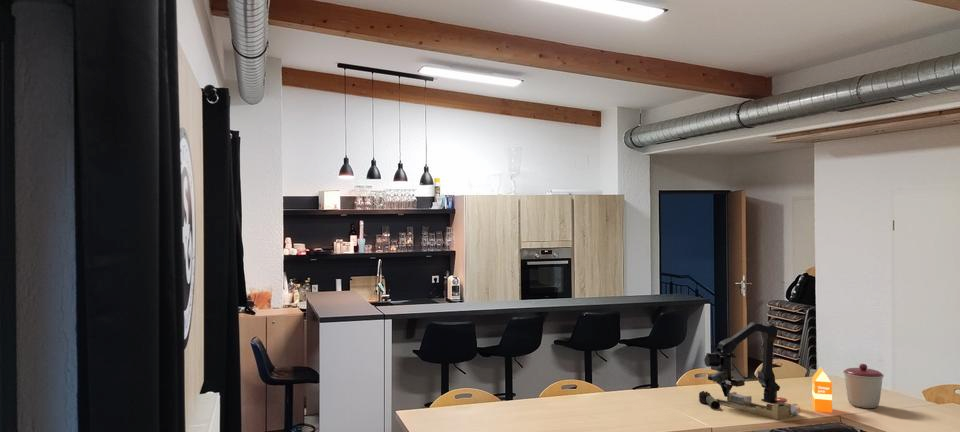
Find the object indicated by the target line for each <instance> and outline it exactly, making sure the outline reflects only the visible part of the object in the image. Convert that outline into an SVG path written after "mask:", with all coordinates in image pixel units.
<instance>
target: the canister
mask: <svg viewBox="0 0 960 432" xmlns="http://www.w3.org/2000/svg"><path fill="white" fill-rule="evenodd" d="M842 373H843V374H844V380H845V381H844V383H845V389H846V395H847V400H848V403H849V404H850V405H852V406H853V407H856V408H863V409H876V408H877V407H878V406H879V405H880V402H881V394H882V387H883V385H882V384H883V378H884V377H885V374H884V373H882V372H880V371H879V370H876V369H873V368H868V365H867V364H866V363H860V364H859V365H858V367H849V368H846V369H844V370H842Z"/></svg>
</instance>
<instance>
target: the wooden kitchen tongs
mask: <svg viewBox="0 0 960 432" xmlns="http://www.w3.org/2000/svg"><path fill="white" fill-rule="evenodd" d="M716 400H717V401H718V402H719V403H720V405H723V406H726V407H728V408H729V407H730V408H732V407H733V409H736V408H737V410H740V409H741V411H743V410H744V412H747V411H748V413H750V412H752V413H751V414H754V413H755V415H758V414H759V415H758V416H761V415H762V417H765V416H766V417H765V418H769V419H772V420H777V421H779V420H783V419H787V418H791V417H792V416H797V415H799V414H800V413H801V407H800V405H798V404H797V403H789V402H788V399H787V398H785V397H777V398H776V401H778V402H777V404H773V403H766V405H763V404H760V403H756V402H752V407H754V408H751V407H747V406H743V405H740V404H736V403H732V402H729V401H727V400H726V399H725V400H724V399H722V398H721V399H720V398H716Z"/></svg>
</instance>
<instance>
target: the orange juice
mask: <svg viewBox="0 0 960 432" xmlns="http://www.w3.org/2000/svg"><path fill="white" fill-rule="evenodd" d="M811 380H812V384H811V385H812V386H811V387H812V390H811V391H812V396H811V397H812V408H813V410H814V411H815V412H822V413H833V382H832V381H831V379H830V378H829V377H828V376H827V374H826V373H825V372H824V369H822V367H821V366H820V367H819V368H818V370H817V371H816V372H815V374H814V375H813V376H812V377H811Z"/></svg>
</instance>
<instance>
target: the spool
mask: <svg viewBox="0 0 960 432" xmlns="http://www.w3.org/2000/svg"><path fill="white" fill-rule="evenodd" d="M752 397H753V396H752V395H745V394H744V395H743V394H740V393H737V391H732V392H729V393H727V397H726V401H729V402H732V403H736V404H740V405H743V406H747V407H752V403H753V402H752V400H753V398H752Z"/></svg>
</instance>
